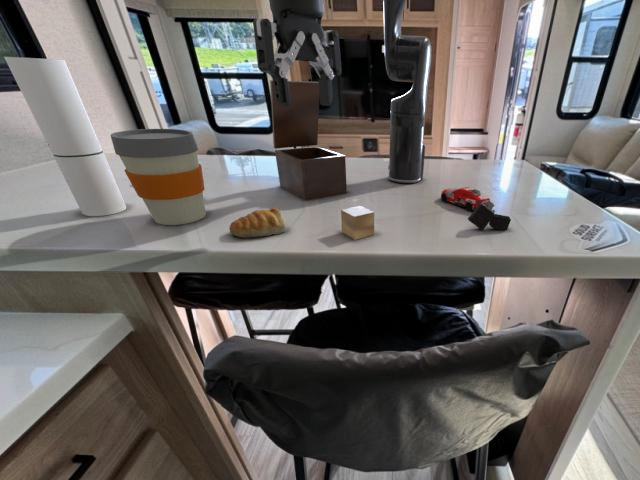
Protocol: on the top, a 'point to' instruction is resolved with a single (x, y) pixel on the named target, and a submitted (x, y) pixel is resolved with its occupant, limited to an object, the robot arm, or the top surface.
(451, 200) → the race car
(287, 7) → the robot arm
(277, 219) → the pastry
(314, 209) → the top surface
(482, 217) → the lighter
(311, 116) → the lid
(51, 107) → the cylindrical container
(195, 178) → the reusable coffee cup
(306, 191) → the chest
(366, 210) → the block
